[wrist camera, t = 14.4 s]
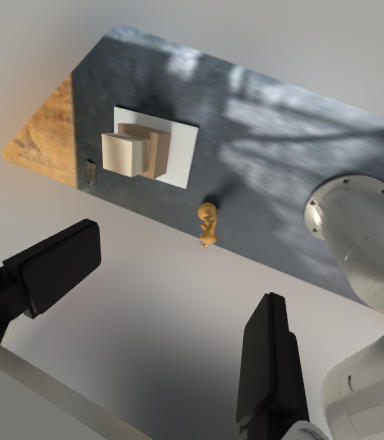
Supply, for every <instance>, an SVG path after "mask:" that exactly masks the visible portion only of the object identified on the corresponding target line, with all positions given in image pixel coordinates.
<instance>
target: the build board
mask: <svg viewBox="0 0 384 440" xmlns="http://www.w3.org/2000/svg"><path fill="white" fill-rule="evenodd" d="M198 131H199V128H197V127H193V126H189V125H185V124H181V123H177V122H173V121H169V120H165V119H162V118H158V117H154V116H150V115H146V114H142V113H138V112H134V111H130V110H126V109H122V108H118V107H114V133H126V134H130V135H134V136H137V137H141V138H145V139H149V140H151V142H150V155H149V169H148V171H146V172H143V173H141V174H139V175H142V176H145V177H148V178H151V179H157V180H160V181H163V182H166V183H169V184H172V185H175V186H178V187H181V188H184V189H186V188H187V186H188V181H189V176H190V171H191V166H192V161H193V156H194V151H195V146H196V141H197V136H198Z"/></svg>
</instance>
